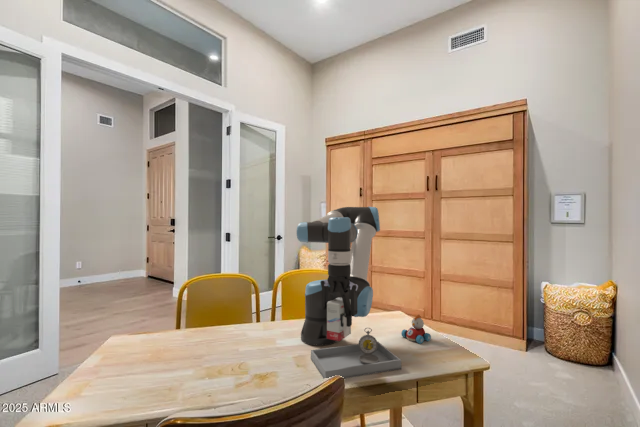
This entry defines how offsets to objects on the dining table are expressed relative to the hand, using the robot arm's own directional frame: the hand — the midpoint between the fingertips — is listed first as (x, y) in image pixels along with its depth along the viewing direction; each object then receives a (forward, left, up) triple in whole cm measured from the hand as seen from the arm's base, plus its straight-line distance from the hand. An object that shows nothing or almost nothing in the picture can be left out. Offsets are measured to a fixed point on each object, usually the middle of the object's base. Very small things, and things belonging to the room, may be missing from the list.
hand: (339, 333), depth 106 cm
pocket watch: (+7, +9, -10) cm, 15 cm away
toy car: (+14, +38, -11) cm, 42 cm away
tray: (+3, +4, -11) cm, 12 cm away
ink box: (0, 0, -1) cm, 1 cm away
